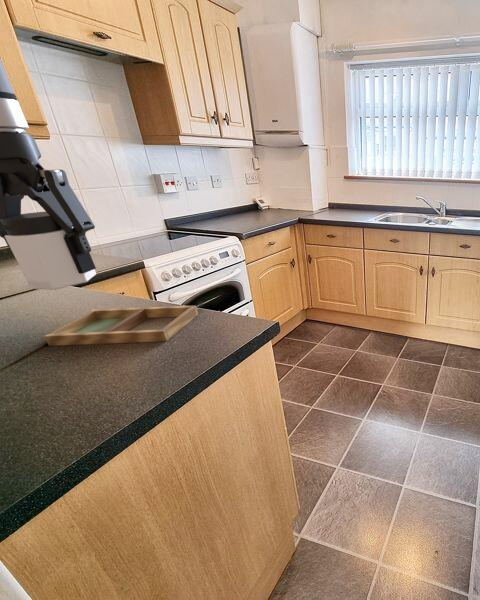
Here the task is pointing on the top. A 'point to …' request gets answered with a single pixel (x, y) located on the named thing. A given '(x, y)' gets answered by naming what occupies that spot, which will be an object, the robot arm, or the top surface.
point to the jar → (42, 251)
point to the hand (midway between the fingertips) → (61, 271)
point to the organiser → (120, 326)
